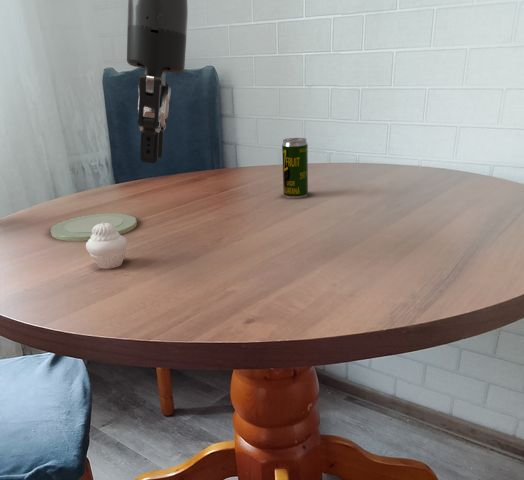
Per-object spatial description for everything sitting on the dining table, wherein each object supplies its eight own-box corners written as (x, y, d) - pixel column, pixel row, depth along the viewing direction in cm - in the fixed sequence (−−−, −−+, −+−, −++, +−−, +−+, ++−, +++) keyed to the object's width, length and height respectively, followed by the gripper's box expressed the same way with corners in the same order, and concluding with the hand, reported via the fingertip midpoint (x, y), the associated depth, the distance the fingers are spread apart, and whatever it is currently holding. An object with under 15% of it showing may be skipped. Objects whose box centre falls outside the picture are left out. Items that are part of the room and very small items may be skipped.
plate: (35, 242, 98) (33, 236, 98) (76, 218, 112) (74, 213, 112) (117, 242, 96) (116, 236, 95) (148, 218, 109) (148, 212, 109)
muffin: (131, 258, 88) (124, 215, 84) (129, 271, 82) (121, 225, 79) (93, 262, 87) (84, 218, 84) (88, 275, 82) (78, 229, 78)
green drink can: (288, 193, 122) (287, 137, 117) (311, 194, 120) (311, 137, 115) (279, 199, 118) (278, 141, 112) (303, 200, 116) (302, 141, 110)
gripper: (134, 30, 76) (131, 152, 82) (119, 15, 63) (116, 160, 69) (188, 39, 77) (180, 158, 83) (184, 25, 64) (175, 168, 70)
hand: (151, 159), depth 76 cm, fingers open, 8 cm apart
